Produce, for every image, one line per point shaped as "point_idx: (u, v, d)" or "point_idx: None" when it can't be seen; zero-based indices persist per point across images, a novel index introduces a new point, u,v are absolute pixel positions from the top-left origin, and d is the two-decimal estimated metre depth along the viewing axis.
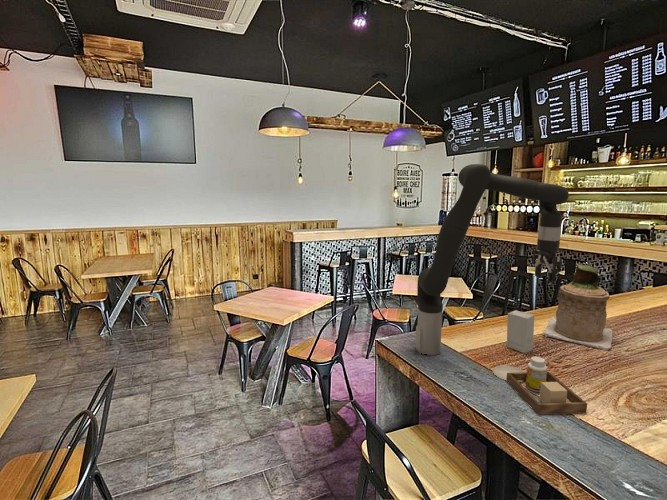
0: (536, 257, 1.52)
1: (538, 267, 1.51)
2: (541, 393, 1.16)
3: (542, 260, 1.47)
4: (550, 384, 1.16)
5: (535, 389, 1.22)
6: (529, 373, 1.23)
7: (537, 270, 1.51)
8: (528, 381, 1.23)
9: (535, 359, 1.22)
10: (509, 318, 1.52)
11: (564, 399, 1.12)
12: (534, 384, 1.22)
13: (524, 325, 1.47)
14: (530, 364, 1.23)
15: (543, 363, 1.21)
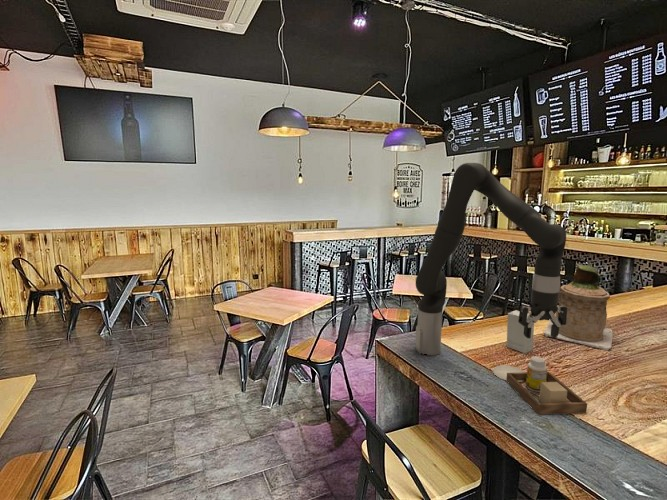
0: None
1: None
2: (541, 393, 1.16)
3: (542, 316, 1.18)
4: (550, 383, 1.16)
5: (535, 389, 1.22)
6: (529, 373, 1.23)
7: None
8: (528, 381, 1.23)
9: (535, 359, 1.22)
10: (509, 318, 1.52)
11: (564, 399, 1.12)
12: (534, 384, 1.22)
13: None
14: (530, 364, 1.23)
15: (543, 363, 1.21)
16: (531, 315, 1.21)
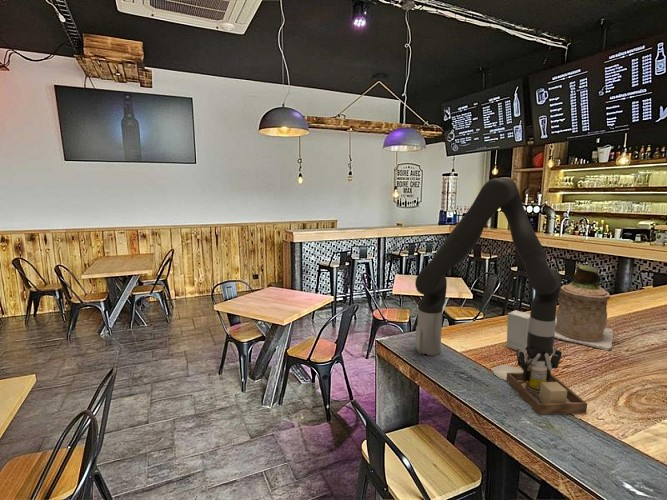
0: None
1: None
2: (541, 393, 1.16)
3: (539, 358, 1.21)
4: (550, 384, 1.16)
5: (535, 389, 1.22)
6: None
7: None
8: (528, 381, 1.23)
9: None
10: (509, 318, 1.52)
11: (564, 399, 1.12)
12: (534, 384, 1.22)
13: (524, 325, 1.47)
14: None
15: (543, 363, 1.21)
16: (528, 357, 1.23)
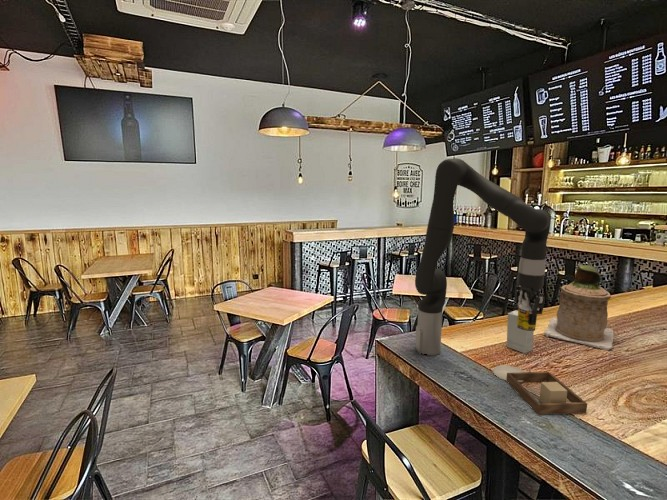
0: None
1: None
2: (541, 393, 1.16)
3: None
4: (550, 383, 1.16)
5: None
6: None
7: None
8: (532, 325, 1.23)
9: None
10: (509, 318, 1.52)
11: (564, 399, 1.12)
12: (535, 324, 1.23)
13: None
14: None
15: None
16: None
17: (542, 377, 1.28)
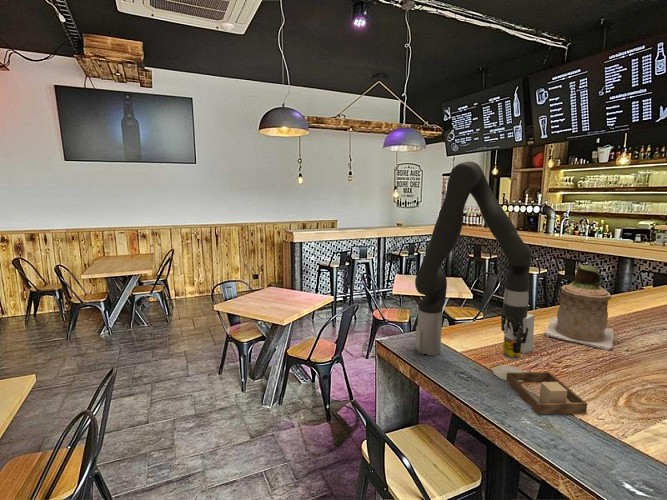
0: None
1: None
2: (541, 393, 1.16)
3: None
4: (550, 384, 1.16)
5: None
6: None
7: None
8: (516, 353, 1.28)
9: None
10: None
11: (564, 399, 1.12)
12: (520, 352, 1.29)
13: (524, 325, 1.47)
14: None
15: None
16: None
17: (542, 377, 1.28)
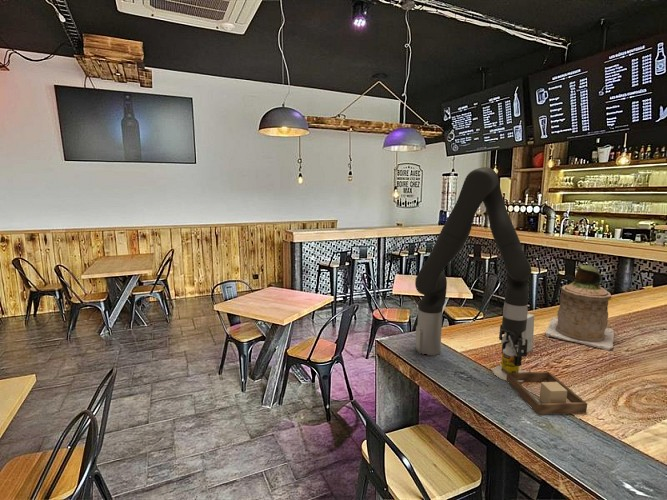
0: None
1: None
2: (541, 393, 1.16)
3: None
4: (550, 384, 1.16)
5: None
6: None
7: None
8: (515, 369, 1.30)
9: None
10: None
11: (564, 399, 1.12)
12: (518, 368, 1.31)
13: None
14: (513, 353, 1.29)
15: None
16: None
17: (542, 377, 1.28)
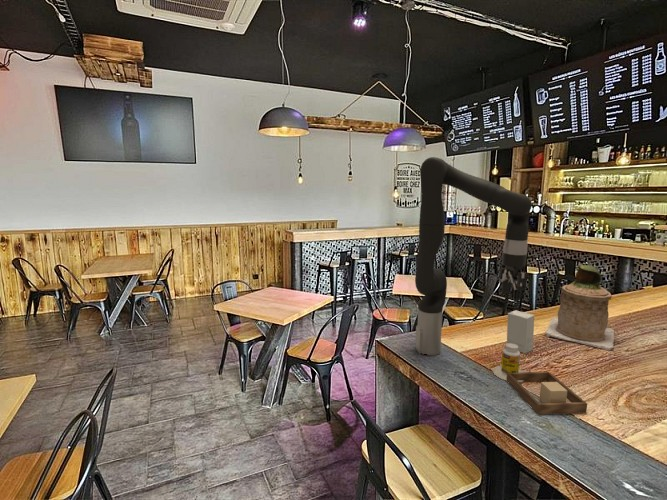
0: None
1: None
2: (541, 393, 1.16)
3: None
4: (550, 383, 1.16)
5: None
6: (516, 361, 1.29)
7: None
8: (515, 369, 1.30)
9: (513, 346, 1.30)
10: (509, 318, 1.52)
11: (564, 399, 1.12)
12: (518, 368, 1.31)
13: (524, 325, 1.47)
14: (513, 353, 1.29)
15: None
16: None
17: (542, 377, 1.28)
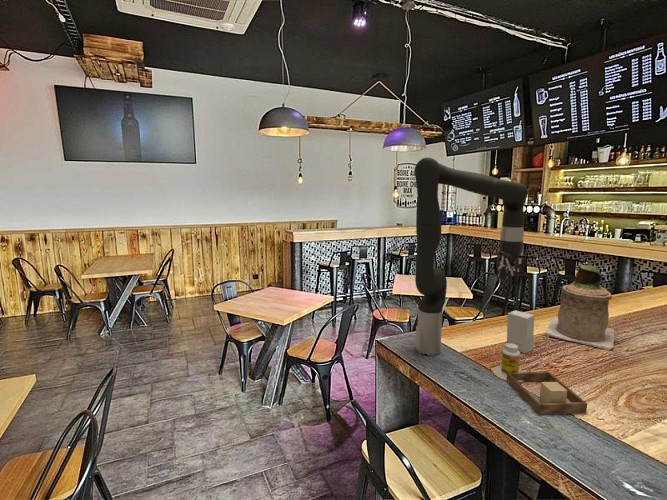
0: None
1: None
2: (541, 393, 1.16)
3: None
4: (550, 383, 1.16)
5: None
6: (516, 361, 1.29)
7: None
8: (515, 369, 1.30)
9: (513, 346, 1.30)
10: (509, 318, 1.52)
11: (564, 399, 1.12)
12: (518, 368, 1.31)
13: (524, 325, 1.47)
14: (513, 353, 1.29)
15: None
16: None
17: (542, 377, 1.28)
